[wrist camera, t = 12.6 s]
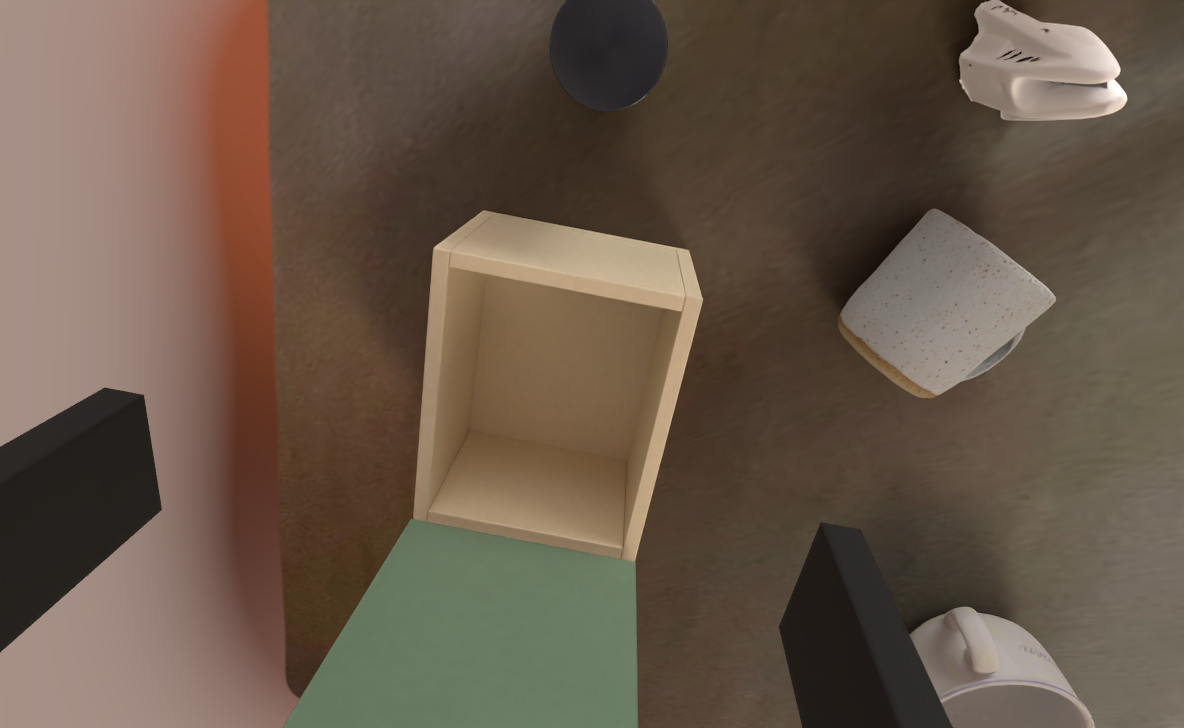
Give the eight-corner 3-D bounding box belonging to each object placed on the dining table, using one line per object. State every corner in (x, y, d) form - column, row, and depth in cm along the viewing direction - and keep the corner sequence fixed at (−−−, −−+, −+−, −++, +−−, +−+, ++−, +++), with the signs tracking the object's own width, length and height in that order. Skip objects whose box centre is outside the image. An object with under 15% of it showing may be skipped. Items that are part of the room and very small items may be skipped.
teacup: (1020, 689, 50) (1085, 793, 42) (876, 697, 51) (915, 799, 44) (1036, 548, 44) (1114, 639, 37) (875, 562, 46) (920, 651, 38)
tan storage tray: (482, 209, 38) (432, 247, 29) (689, 249, 38) (703, 299, 29) (459, 432, 44) (412, 519, 35) (636, 466, 44) (634, 562, 35)
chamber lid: (229, 810, 19) (229, 974, 21) (640, 889, 19) (593, 1044, 21) (410, 518, 35) (398, 632, 37) (635, 561, 35) (609, 672, 37)
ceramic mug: (813, 308, 39) (852, 359, 32) (911, 195, 35) (979, 222, 28) (941, 397, 40) (1005, 463, 33) (1044, 296, 37) (1139, 345, 30)
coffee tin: (568, 4, 33) (548, -20, 26) (664, 3, 33) (670, -22, 25) (570, 106, 35) (550, 111, 28) (660, 107, 35) (664, 111, 27)
